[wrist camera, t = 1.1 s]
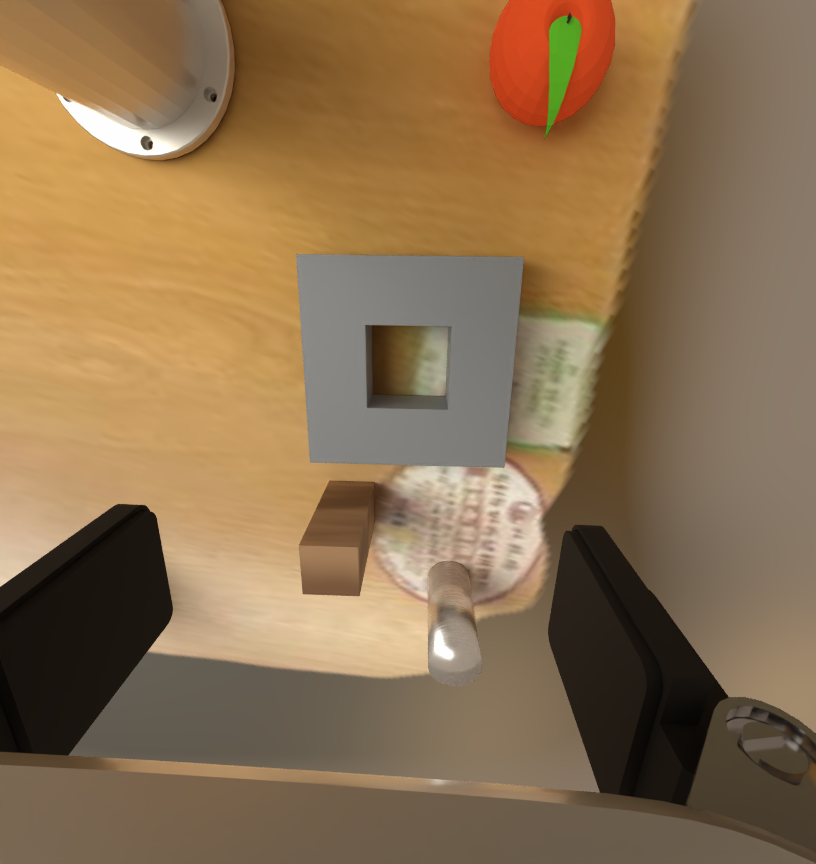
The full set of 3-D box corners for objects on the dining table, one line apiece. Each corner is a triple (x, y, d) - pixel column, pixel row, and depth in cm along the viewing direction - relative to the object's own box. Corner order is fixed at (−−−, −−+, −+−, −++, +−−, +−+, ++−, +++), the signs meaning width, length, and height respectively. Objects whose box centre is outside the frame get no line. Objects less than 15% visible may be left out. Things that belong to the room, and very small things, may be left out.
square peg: (329, 480, 39) (298, 545, 29) (374, 482, 39) (357, 547, 29) (331, 520, 40) (302, 594, 31) (374, 521, 40) (359, 596, 31)
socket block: (311, 257, 33) (296, 254, 29) (512, 259, 32) (523, 256, 28) (321, 444, 38) (310, 462, 34) (496, 448, 37) (504, 467, 33)
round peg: (428, 560, 41) (429, 643, 32) (470, 561, 41) (484, 645, 32) (426, 594, 43) (427, 684, 33) (468, 596, 42) (480, 687, 33)
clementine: (579, 158, 30) (624, 123, 23) (478, 158, 30) (493, 124, 24) (596, 11, 27) (653, -76, 21) (485, 12, 28) (505, -73, 21)
